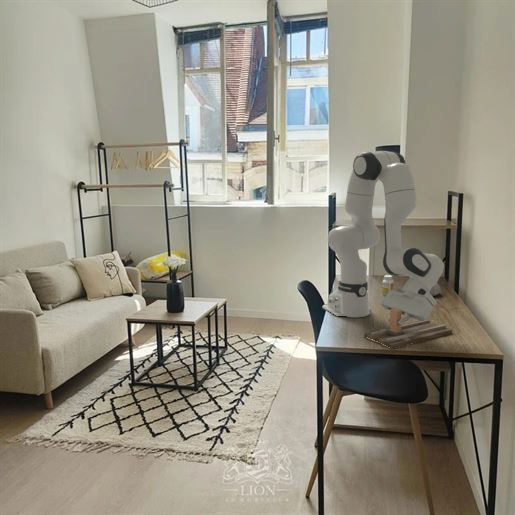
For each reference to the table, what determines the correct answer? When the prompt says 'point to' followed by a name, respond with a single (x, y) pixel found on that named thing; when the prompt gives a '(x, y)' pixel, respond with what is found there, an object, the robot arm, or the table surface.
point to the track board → (410, 333)
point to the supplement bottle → (387, 284)
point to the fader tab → (395, 323)
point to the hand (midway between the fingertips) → (394, 322)
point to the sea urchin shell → (435, 290)
